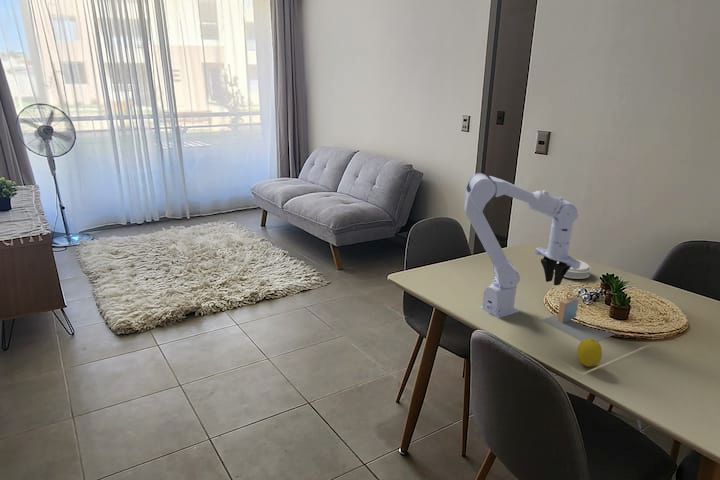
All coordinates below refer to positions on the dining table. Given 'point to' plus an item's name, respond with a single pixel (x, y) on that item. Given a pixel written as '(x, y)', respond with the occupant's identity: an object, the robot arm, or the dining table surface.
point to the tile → (567, 309)
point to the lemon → (589, 352)
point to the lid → (578, 271)
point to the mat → (577, 329)
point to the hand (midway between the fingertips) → (552, 282)
